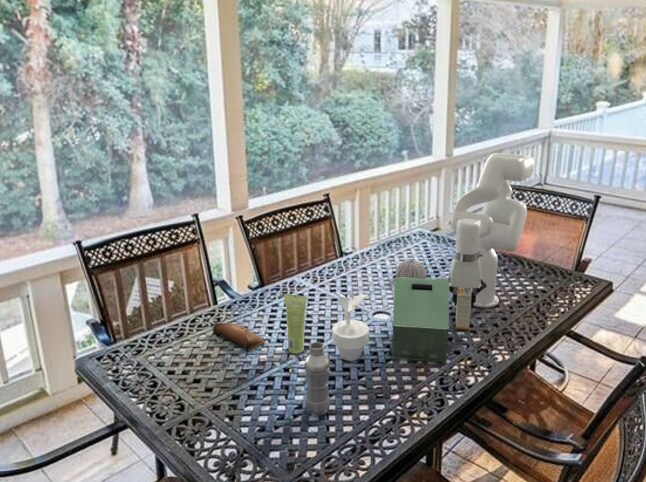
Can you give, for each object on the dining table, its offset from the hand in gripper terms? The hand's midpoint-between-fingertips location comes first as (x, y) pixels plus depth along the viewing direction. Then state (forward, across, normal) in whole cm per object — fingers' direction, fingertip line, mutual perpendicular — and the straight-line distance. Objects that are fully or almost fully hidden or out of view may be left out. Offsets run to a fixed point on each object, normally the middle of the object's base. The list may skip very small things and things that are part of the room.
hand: (463, 303), depth 185 cm
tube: (+8, +54, +24) cm, 60 cm away
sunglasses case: (+7, +75, +18) cm, 78 cm away
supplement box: (+8, 0, 0) cm, 8 cm away
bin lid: (-11, +15, +22) cm, 29 cm away
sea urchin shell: (+9, +18, -36) cm, 42 cm away
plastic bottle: (+7, +42, +53) cm, 68 cm away
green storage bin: (+8, +15, +19) cm, 25 cm away
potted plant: (+8, +36, +25) cm, 45 cm away
